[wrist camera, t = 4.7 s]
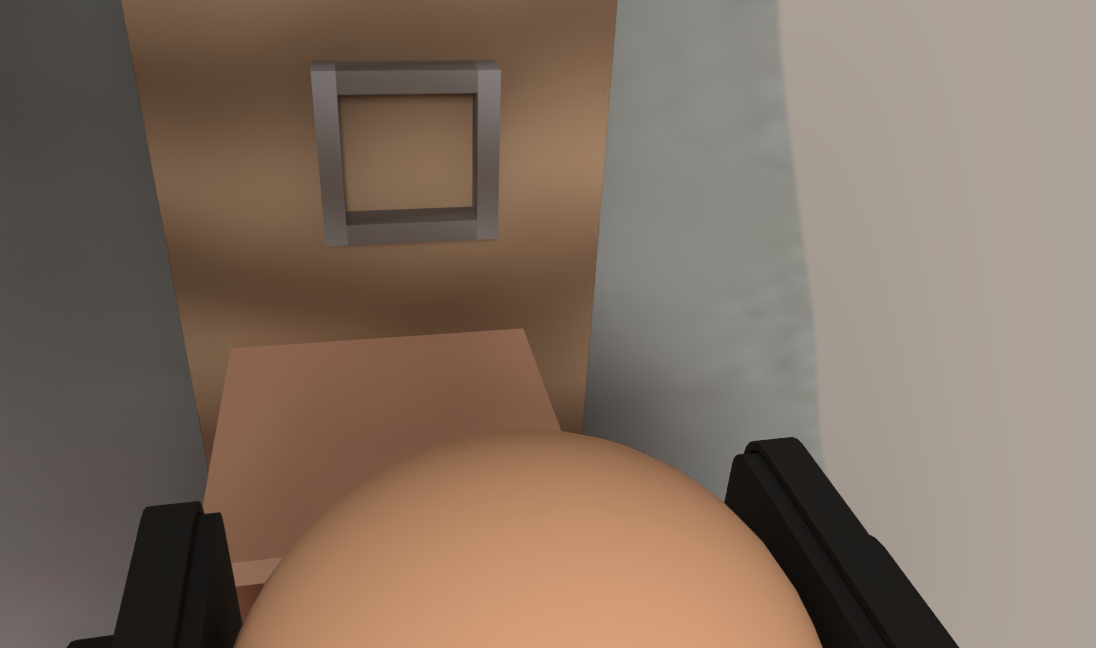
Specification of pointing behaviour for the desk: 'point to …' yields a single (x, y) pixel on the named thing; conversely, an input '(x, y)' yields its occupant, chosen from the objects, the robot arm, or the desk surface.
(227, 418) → the orange open box
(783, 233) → the desk surface
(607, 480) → the ball
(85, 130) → the desk surface
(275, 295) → the board
